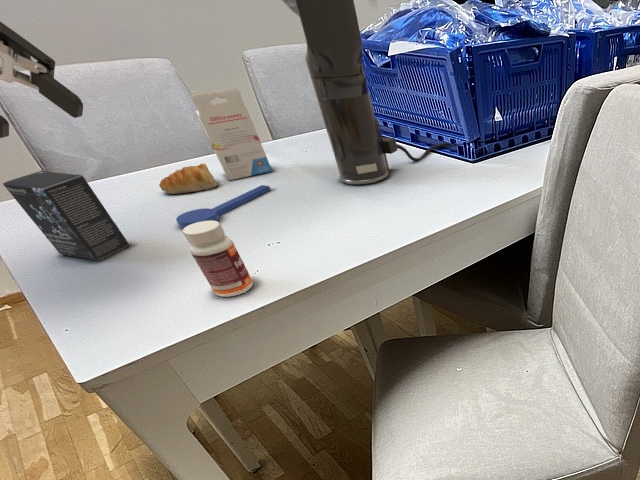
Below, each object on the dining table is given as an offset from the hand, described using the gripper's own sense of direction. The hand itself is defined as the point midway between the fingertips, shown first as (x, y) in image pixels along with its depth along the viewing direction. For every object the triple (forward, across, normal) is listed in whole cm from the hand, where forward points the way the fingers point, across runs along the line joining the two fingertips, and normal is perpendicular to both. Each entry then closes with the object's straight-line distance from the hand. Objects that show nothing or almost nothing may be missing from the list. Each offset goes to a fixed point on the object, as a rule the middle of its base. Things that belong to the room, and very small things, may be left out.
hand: (45, 120), depth 47 cm
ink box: (+3, +44, +24) cm, 51 cm away
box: (+2, +8, +26) cm, 27 cm away
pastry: (-1, +35, +28) cm, 45 cm away
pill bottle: (+22, 0, +6) cm, 23 cm away
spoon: (+9, +26, +19) cm, 33 cm away
